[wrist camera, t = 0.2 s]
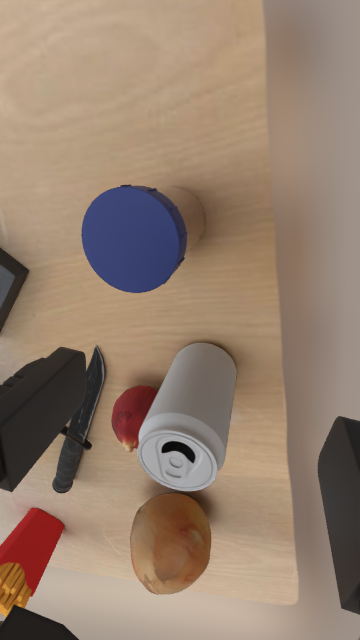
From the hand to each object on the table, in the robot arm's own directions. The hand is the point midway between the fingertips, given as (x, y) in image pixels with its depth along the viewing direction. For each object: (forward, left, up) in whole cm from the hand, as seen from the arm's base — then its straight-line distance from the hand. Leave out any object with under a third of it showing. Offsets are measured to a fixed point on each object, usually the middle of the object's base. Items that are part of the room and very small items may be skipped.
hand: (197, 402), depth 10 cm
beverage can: (+10, +5, -19) cm, 22 cm away
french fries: (+53, +5, -19) cm, 57 cm away
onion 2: (+29, +16, -19) cm, 38 cm away
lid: (+1, -6, -9) cm, 11 cm away
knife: (+28, -1, -19) cm, 34 cm away
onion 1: (+17, +3, -19) cm, 26 cm away
